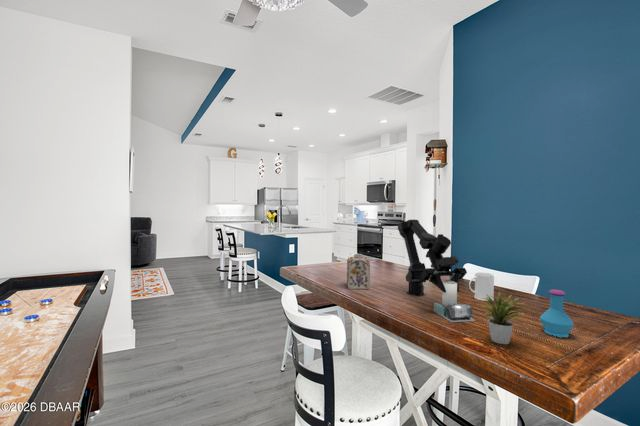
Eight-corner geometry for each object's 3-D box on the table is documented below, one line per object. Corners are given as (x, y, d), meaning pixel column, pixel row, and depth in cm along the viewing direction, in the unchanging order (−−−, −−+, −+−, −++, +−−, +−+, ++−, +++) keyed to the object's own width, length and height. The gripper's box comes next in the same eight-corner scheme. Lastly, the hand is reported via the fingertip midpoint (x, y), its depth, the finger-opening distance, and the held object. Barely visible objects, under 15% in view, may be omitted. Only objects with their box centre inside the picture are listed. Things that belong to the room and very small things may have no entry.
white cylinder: (438, 305, 124) (439, 280, 124) (449, 303, 126) (449, 279, 126) (449, 309, 119) (450, 283, 119) (460, 308, 121) (460, 282, 121)
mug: (472, 300, 140) (472, 275, 140) (464, 295, 149) (464, 271, 149) (497, 301, 140) (498, 276, 140) (488, 296, 148) (488, 272, 148)
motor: (432, 310, 126) (433, 297, 126) (453, 309, 128) (453, 296, 128) (451, 322, 113) (452, 307, 113) (474, 321, 115) (474, 306, 114)
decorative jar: (370, 289, 158) (370, 256, 158) (348, 289, 158) (348, 255, 158) (366, 284, 170) (367, 252, 170) (346, 283, 170) (347, 252, 170)
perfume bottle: (575, 341, 98) (576, 296, 97) (541, 335, 102) (542, 291, 102) (570, 332, 105) (571, 289, 105) (538, 326, 110) (539, 286, 110)
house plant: (505, 355, 87) (506, 300, 87) (465, 337, 100) (466, 288, 100) (535, 347, 93) (536, 295, 93) (494, 330, 106) (495, 284, 106)
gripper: (424, 249, 125) (438, 282, 114) (464, 248, 128) (482, 280, 117) (415, 264, 133) (427, 296, 122) (453, 263, 136) (468, 294, 125)
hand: (451, 291), depth 121 cm, fingers closed on white cylinder, 5 cm apart
